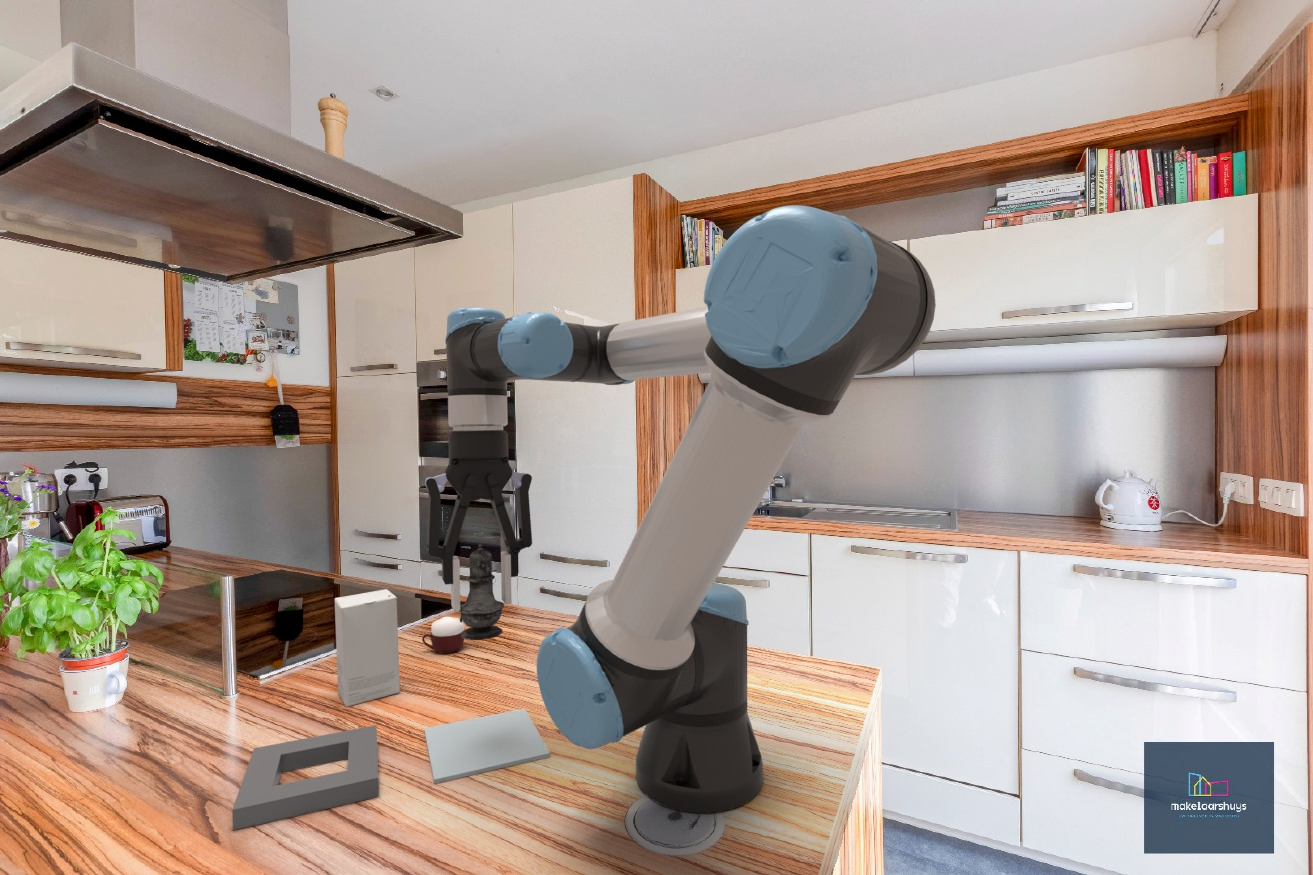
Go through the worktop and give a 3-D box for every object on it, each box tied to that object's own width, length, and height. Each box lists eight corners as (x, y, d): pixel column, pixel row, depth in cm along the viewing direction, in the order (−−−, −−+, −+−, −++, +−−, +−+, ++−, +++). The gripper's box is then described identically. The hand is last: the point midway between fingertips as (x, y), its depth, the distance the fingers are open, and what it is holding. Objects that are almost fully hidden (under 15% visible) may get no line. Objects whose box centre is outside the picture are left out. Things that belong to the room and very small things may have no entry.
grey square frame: (378, 796, 72) (378, 777, 72) (232, 830, 66) (232, 809, 66) (376, 741, 85) (376, 724, 85) (254, 765, 79) (254, 748, 79)
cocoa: (419, 657, 117) (414, 593, 116) (434, 644, 123) (430, 583, 122) (469, 656, 116) (464, 592, 115) (482, 643, 122) (477, 582, 121)
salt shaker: (458, 643, 80) (456, 548, 80) (459, 629, 85) (457, 540, 85) (506, 638, 81) (504, 545, 81) (504, 624, 87) (502, 537, 87)
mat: (550, 756, 80) (550, 752, 80) (434, 783, 75) (434, 779, 75) (525, 711, 93) (525, 708, 93) (424, 731, 87) (424, 728, 87)
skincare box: (391, 680, 105) (389, 587, 105) (401, 694, 100) (400, 596, 99) (335, 694, 100) (333, 596, 100) (343, 708, 95) (341, 605, 94)
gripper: (541, 428, 90) (544, 589, 91) (399, 430, 82) (403, 607, 83) (556, 428, 83) (559, 602, 84) (402, 430, 76) (406, 622, 76)
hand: (481, 604), depth 83 cm, fingers closed on salt shaker, 6 cm apart
